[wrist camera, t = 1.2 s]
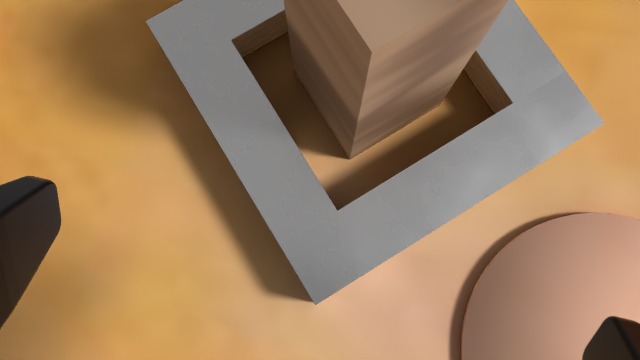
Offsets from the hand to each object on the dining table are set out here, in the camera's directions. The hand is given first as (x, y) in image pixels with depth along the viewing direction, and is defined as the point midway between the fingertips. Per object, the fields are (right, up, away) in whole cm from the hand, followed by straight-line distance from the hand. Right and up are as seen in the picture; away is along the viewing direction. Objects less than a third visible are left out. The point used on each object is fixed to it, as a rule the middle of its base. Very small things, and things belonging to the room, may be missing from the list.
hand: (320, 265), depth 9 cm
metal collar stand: (+2, +5, +15) cm, 16 cm away
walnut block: (+2, +5, +15) cm, 16 cm away
